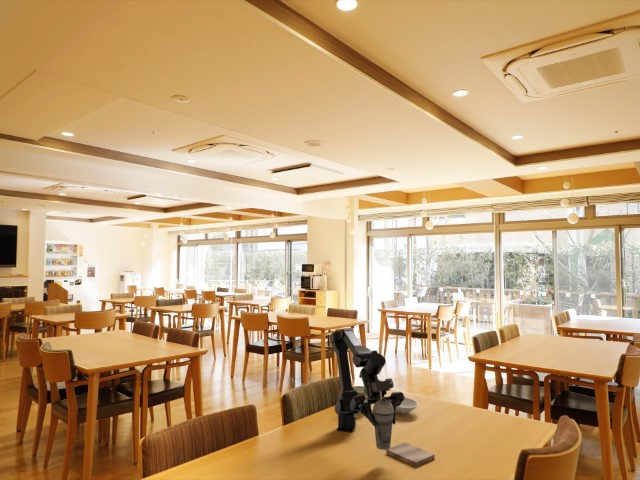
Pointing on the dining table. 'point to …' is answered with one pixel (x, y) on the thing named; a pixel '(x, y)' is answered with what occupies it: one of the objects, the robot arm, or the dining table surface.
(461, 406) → the dining table surface
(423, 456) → the walnut board
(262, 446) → the dining table surface
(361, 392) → the ceramic cup
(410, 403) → the dish
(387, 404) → the beverage cup
